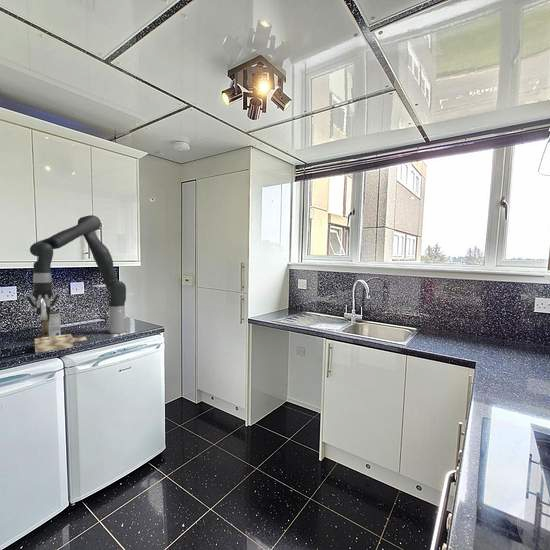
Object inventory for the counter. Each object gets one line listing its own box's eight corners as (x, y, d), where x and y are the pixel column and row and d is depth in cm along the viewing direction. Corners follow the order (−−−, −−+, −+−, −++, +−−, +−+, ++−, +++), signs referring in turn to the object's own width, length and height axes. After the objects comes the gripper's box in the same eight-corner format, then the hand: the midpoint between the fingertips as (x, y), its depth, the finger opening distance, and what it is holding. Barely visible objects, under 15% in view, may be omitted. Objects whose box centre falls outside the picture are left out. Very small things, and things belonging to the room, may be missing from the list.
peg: (47, 319, 160) (46, 296, 159) (47, 320, 157) (46, 297, 157) (40, 319, 158) (39, 297, 157) (40, 320, 155) (39, 297, 155)
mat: (85, 337, 181) (85, 336, 181) (87, 340, 176) (87, 339, 176) (69, 339, 176) (69, 338, 176) (70, 342, 170) (70, 341, 170)
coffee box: (40, 338, 176) (39, 311, 175) (53, 336, 182) (52, 309, 181) (49, 341, 172) (48, 313, 171) (61, 338, 178) (60, 311, 177)
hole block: (70, 342, 170) (70, 333, 170) (73, 346, 162) (73, 337, 162) (34, 347, 160) (34, 338, 159) (35, 352, 152) (35, 343, 152)
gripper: (58, 280, 164) (59, 311, 165) (25, 281, 155) (26, 314, 156) (59, 281, 158) (60, 314, 159) (25, 282, 149) (26, 317, 150)
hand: (43, 314), depth 157 cm, fingers closed on peg, 3 cm apart
